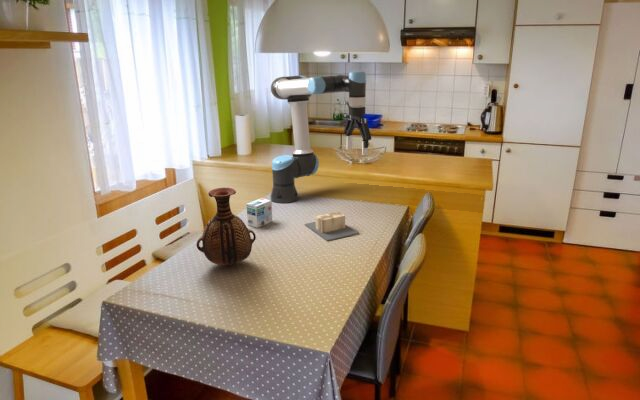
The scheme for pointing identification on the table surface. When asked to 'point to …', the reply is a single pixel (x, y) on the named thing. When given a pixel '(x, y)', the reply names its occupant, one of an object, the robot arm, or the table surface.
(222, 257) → the vase
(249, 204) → the light bulb box
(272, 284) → the table surface
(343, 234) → the mat
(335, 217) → the beech block
